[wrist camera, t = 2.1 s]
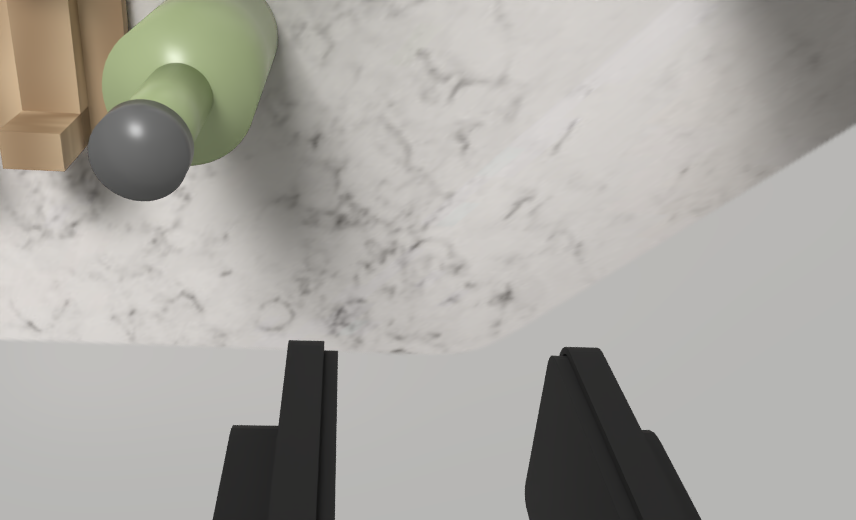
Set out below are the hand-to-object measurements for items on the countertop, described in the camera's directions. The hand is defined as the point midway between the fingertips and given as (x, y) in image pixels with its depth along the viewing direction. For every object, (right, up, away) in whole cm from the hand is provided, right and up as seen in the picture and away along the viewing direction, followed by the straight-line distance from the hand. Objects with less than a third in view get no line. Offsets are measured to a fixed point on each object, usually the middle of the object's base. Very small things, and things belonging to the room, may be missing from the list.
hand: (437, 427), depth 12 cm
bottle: (-9, +13, +23) cm, 28 cm away
